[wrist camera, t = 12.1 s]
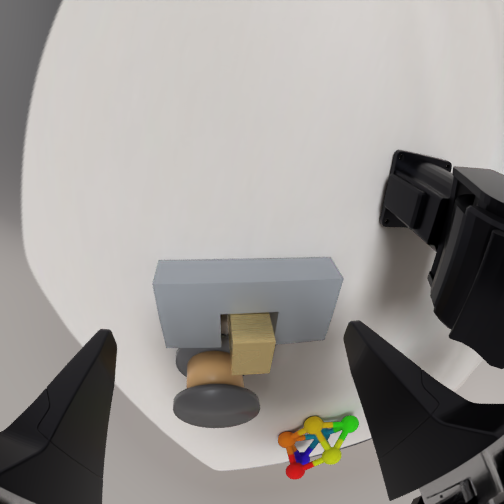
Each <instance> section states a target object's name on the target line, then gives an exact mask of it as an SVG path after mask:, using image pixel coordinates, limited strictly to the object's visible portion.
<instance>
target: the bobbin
mask: <svg viewBox="0 0 504 504" xmlns="http://www.w3.org/2000/svg"><path fill="white" fill-rule="evenodd" d="M176 365H177V368H178V369H179V371H180V372H181V373H182V374H183V375H184V376H186V377H187V389H185V390H183V391H181V392H180V393H178V394H177V395H176V397H175V398H174V404H173V411H174V413H175V415H176V416H177V417H178V418H179V419H181V420H182V421H184V422H186V423H189V424H191V425H195V426H199V427H206V428H225V427H232V426H236V425H240V424H243V423H246V422H248V421H250V420H252V419H253V418H254V417H256V416H257V415H258V413H259V411H260V405H259V399H258V397H257V395H256V394H255V393H253V392H252V391H250V390H248V389H246V388H244V382H243V376H244V375H232V372H231V360H230V348H229V336H228V335H224V334H221V347H216V348H178V350H177V354H176Z"/></svg>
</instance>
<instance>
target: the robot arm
mask: <svg viewBox="0 0 504 504" xmlns="http://www.w3.org/2000/svg"><path fill="white" fill-rule="evenodd" d="M400 155H401V158H400V159H399V156H400ZM446 166H447V167H446ZM451 167H452V165H451V163H450V162H449V161H446V160H443V159H439V158H435V157H431V156H426V155H422V154H418V153H413V152H408V151H404V150H397V151H396V152H395V154H394V158H393V163H392V168H391V173H390V176H389V180H388V185H387V190H386V194H385V198H384V203H383V204H384V205H383V209H382V213H381V217H380V223H381V224H382V225H383V226H385V227H409V228H410V229H412V230H413V231H414V232H415V233H416V234H417V235H418V236H419V237H420V238H421V239H422V240H423V241H425V242H426V243H427V244H428V245H430V246H431V247H432V248H433V249H434V250H435V251H436V252H437V253H436V256H435V260H434V263H433V266H432V269H431V271H430V272H429V275H428V281H429V284H430V286H431V298H432V301H433V304H434V307H435V308H434V313H435V314H436V316H437V317H438V318H439V320H440V321H441V322H442V323H443V324H444V325H445V326H447V327H448V328H449V329H451V332H450V334H449V338H450V339H453V340H456V341H459V342H462V343H464V344H465V345H467V346H469V347H470V348H472V349H473V350H475V351H476V352H477V353H478V354H479V355H480V356H481V357H482V358H483V359H484V360H485V361H486V362H487V363H488V364H489V365H491V366H494V367H497V368H500V369H503V368H504V175H503V174H500V173H498V172H496V171H494V170H491V169H480V168H468V167H453V174H452V173H450V172H451ZM386 219H387V221H385V220H386ZM344 344H345V348H346V352H347V357H348V361H349V366H350V370H351V374H352V377H353V380H354V383H355V386H356V389H357V392H358V395H359V398H360V401H361V404H362V407H363V410H364V414H365V417H366V420H367V423H368V426H369V430H370V433H371V436H372V439H373V443H374V446H375V449H376V453H377V456H378V459H379V464H380V467H381V471H382V474H383V478H384V482H385V486H386V489H387V493H388V497H389V500H390V501H391V500H394V499H396V498H398V497H401V496H403V495H406V494H407V493H410V492H412V491H414V490H416V489H418V488H419V489H420V492H421V496H419V497H417V498H415V499H413V501H412V503H411V504H504V404H477V403H472V402H470V401H467V400H466V399H464V398H462V397H461V396H459V395H458V394H456V393H455V392H453V391H452V390H450V389H449V388H447V387H445V386H444V385H443V384H441V383H440V382H438V381H437V380H435V379H434V378H433V377H431V376H430V375H429V374H428V373H426V372H425V371H424V370H421V368H420V367H419V366H417V365H416V364H415V363H414V362H412V361H411V360H410V359H408V358H407V357H406V356H405V355H403V354H402V353H401V352H400V351H398V350H397V349H396V348H394V347H393V346H392V345H391V344H389V343H388V342H387V341H386V340H384V339H383V338H382V337H380V336H379V335H378V334H377V333H375V332H374V331H373V330H371V329H370V328H369V327H368V326H366V325H365V324H364V323H362V322H361V321H359V320H357V321H351V322H349V324H348V326H347V329H346V332H345V334H344ZM116 355H117V344H116V342H115V339H114V337H113V334H112V332H111V330H109V329H100V330H99V331H98V332H97V333H96V334H95V335H94V336H93V337H92V338H91V339H90V340H89V341H88V342H87V343H86V344H85V346H84V347H83V348H82V349H81V350H80V351H79V352H78V353H77V354H76V355H75V356H74V358H73V359H72V360H71V361H70V362H69V363H68V364H67V365H66V366H65V367H64V368H63V370H62V371H61V372H60V373H59V374H58V375H57V376H56V377H55V378H54V380H53V381H52V382H51V383H50V384H49V385H48V386H47V389H45V390H44V391H43V392H42V393H41V395H39V397H38V398H37V399H36V400H35V401H34V402H33V403H32V404H31V405H30V406H29V407H28V408H27V409H26V410H25V411H24V412H23V413H22V414H21V415H20V416H19V417H18V418H17V419H16V420H15V421H14V422H13V423H12V424H11V425H10V426H9V427H7V428H6V429H5V430H4V431H2V432H0V504H102V487H103V479H102V478H103V470H104V458H105V448H106V438H107V429H108V422H109V415H110V408H111V402H112V396H113V390H114V382H115V368H116Z"/></svg>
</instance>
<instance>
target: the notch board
mask: <svg viewBox="0 0 504 504" xmlns="http://www.w3.org/2000/svg"><path fill="white" fill-rule="evenodd" d="M343 279H344V278H343V277H342V275H341V273H340V272H339V270H338V268H337V267H336V265H335V263H334V262H333V260H332V259H331V257H313V258H266V259H212V260H159V261H158V265H157V268H156V272H155V276H154V280H153V289H154V294H155V299H156V304H157V309H158V314H159V319H160V323H161V328H162V332H163V336H164V340H165V345H166V348H216V347H221V324H220V314H243V313H266V312H269V314H270V319H271V323H272V327H273V331H274V336H275V340H276V344H288V343H299V342H309V341H318V340H324V339H325V336H326V333H327V331H328V327H329V324H330V321H331V318H332V315H333V312H334V309H335V306H336V302H337V299H338V296H339V292H340V289H341V286H342V282H343ZM276 344H275V345H276Z"/></svg>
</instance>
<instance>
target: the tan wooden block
mask: <svg viewBox="0 0 504 504" xmlns="http://www.w3.org/2000/svg"><path fill="white" fill-rule="evenodd" d="M227 323H228V336H229V348H230V360H231V372H232V375H248V374H265V373H270V368H271V363H272V358H273V353H274V349H275V344H276V340H275V336H274V331H273V327H272V323H271V319H270V314H269V312H266V313H243V314H228V321H227Z"/></svg>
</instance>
